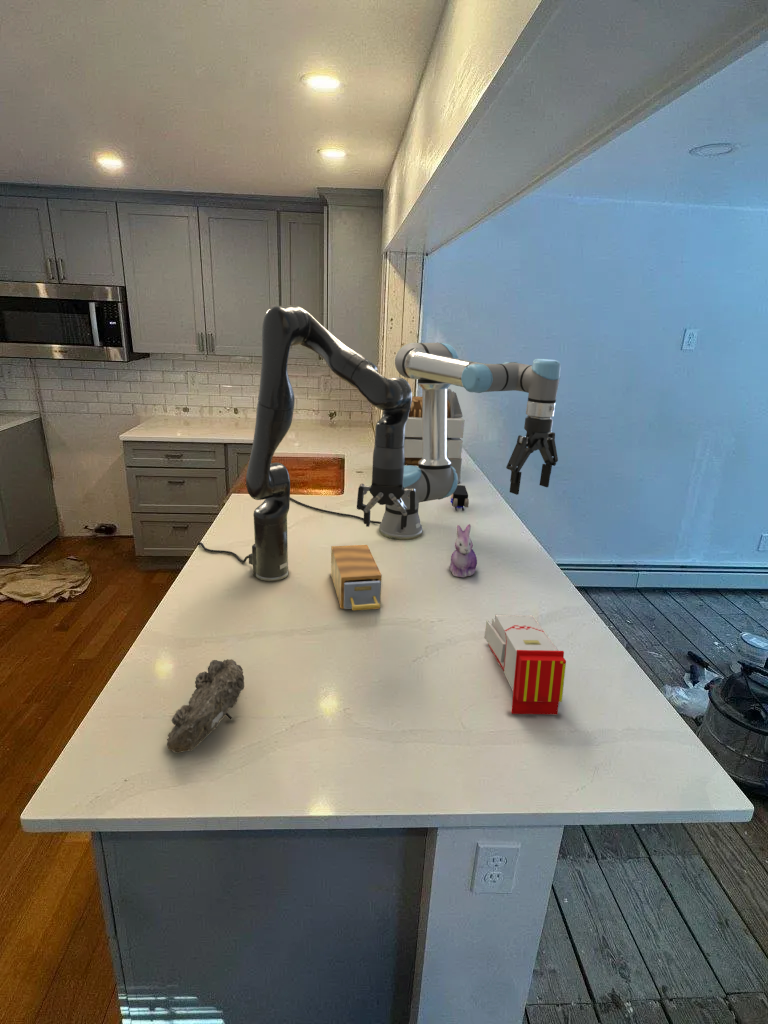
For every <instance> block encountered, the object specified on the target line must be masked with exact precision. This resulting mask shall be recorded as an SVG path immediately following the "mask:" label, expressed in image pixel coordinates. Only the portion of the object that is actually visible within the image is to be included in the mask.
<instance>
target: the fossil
mask: <svg viewBox="0 0 768 1024" xmlns="http://www.w3.org/2000/svg"><path fill="white" fill-rule="evenodd" d="M243 670H244V669H243V667H242V665H240V664H237V662H236V661H235V660H234V659H232V658H231V659H227V658H226V659H224V660H223V661H222V660H217V659H212V660H211V661H210V663H209V665H208V666H207V671H201V672H199V673H198V674H197V675H196V676H195V680H194V684H195V685H194V687H195V689H194V690H193V693H192V694H191V697H190V698H189V700H188V704H184V705H182V706H181V707H180V709H177V710H176V711H175V713H174V715H173V716H172V718H171V723H172V724H173V727H172V730H171V731H170V732H168V734H167V738H166V741H167V742H166V745H167V749H168V750H169V751H173V752H174V753H176V754H178V753H182V752H188V751H189V752H192V751H193V750H195V748H196V747H197V746H199V744H200V743H201V742H203V741H204V740H205V739H206V738H207V737H208V736H209V735H210V734H211V733H212V732H214V730H215V729H217V727H218V726H219V724H220V722H221V721H222V720H223V719H224V718H225V716H226V717H227V719H229V720H233V717H232V715H230V714H229V710H230V709H231V708H234V706H235V704H236V703H237V702H238V699H239V697H240V695H241V693H242V691H243V690H245V689H244V688H245V675H244V671H243Z"/></svg>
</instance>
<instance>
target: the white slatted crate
mask: <svg viewBox="0 0 768 1024" xmlns="http://www.w3.org/2000/svg"><path fill="white" fill-rule="evenodd" d="M464 429H465V419H464V418H463V411H462V408H461V405H460V402H459V398H458V395H457V392H455V391H453V390H452V389H451V388H447V459H448V460H449V461H450V462H451V466H452V467H453V468H454V469H455V470H456V472H455V473H457V476H458V483H457V484H459V483H461V472H462V461H463V460H462V453H463V442H464V441H463V440H462V439H463V438H464V431H465V430H464ZM404 453H405V463H404V465H405V466H408V465H413V466H417V467H418V462H419V461H420V460H421V459H422V396H415V395H414V396H413V395H412V402H411V407H410V411H409V416H408V420H407V423H406V426H405V442H404Z"/></svg>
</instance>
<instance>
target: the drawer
mask: <svg viewBox="0 0 768 1024" xmlns="http://www.w3.org/2000/svg"><path fill="white" fill-rule="evenodd" d="M380 593H381V594H382V581H381V582H380V581H375V579H366V580H349V581H345V583H344V609H343V610H351V611H365V610H379V609H381V602H380Z"/></svg>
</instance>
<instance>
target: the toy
mask: <svg viewBox="0 0 768 1024" xmlns="http://www.w3.org/2000/svg"><path fill="white" fill-rule="evenodd" d="M494 615H495V616H494V617H491V622H490V620H485V621H486V622H485V630H484V640H485V641H486V642H487V646H488V647H489V649H490V651H491V652H492V654H493V656H494V657H495V659H496V661H497V663H498V665H499V667H500V668H501V670H502V671H503V674H504V676H505V678H506V680H507V682H508V684H509V686H510V689H511V690H512V701H511V712H510V713H511V714H512V715H556V716H558V715H559V714H558V713H559V705H560V703H562V702H563V695H564V694H563V693H564V686H565V685H564V683H565V677H566V676H565V675H566V667H567V666H566V665H567V660H566V658H564V656H565V651H564V650H559V649H558V648H557V646H556V645H555V644H554V642H553V641H552V640H551V638H550V637H549V636H548V634H547V633H546V631H544V629H543V628H542V626H541V625H540V623H539V622H538V620H536V618H535V617H534V615H531V614H530V615H527V614H526V615H523V614H519V615H518V614H494Z"/></svg>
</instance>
